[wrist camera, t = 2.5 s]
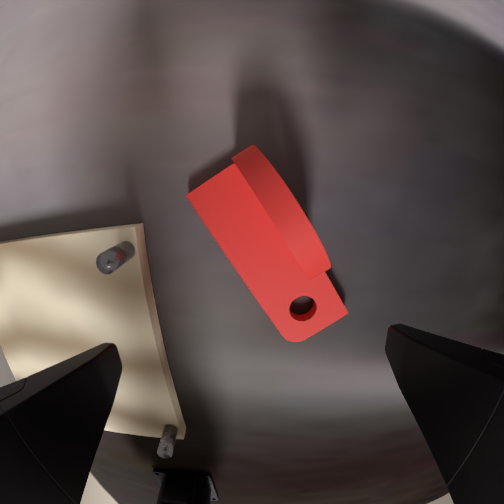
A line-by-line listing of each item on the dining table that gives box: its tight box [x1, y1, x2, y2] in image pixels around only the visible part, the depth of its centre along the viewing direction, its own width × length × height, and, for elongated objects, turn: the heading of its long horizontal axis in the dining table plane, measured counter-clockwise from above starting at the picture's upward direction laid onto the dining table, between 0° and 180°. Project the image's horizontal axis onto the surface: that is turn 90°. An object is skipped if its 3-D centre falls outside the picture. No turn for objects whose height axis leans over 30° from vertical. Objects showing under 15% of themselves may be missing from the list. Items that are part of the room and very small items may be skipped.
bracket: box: [186, 145, 348, 342], centre depth 15 cm, size 12×4×8 cm, turn 33°
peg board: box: [0, 223, 186, 459], centre depth 18 cm, size 18×18×4 cm
